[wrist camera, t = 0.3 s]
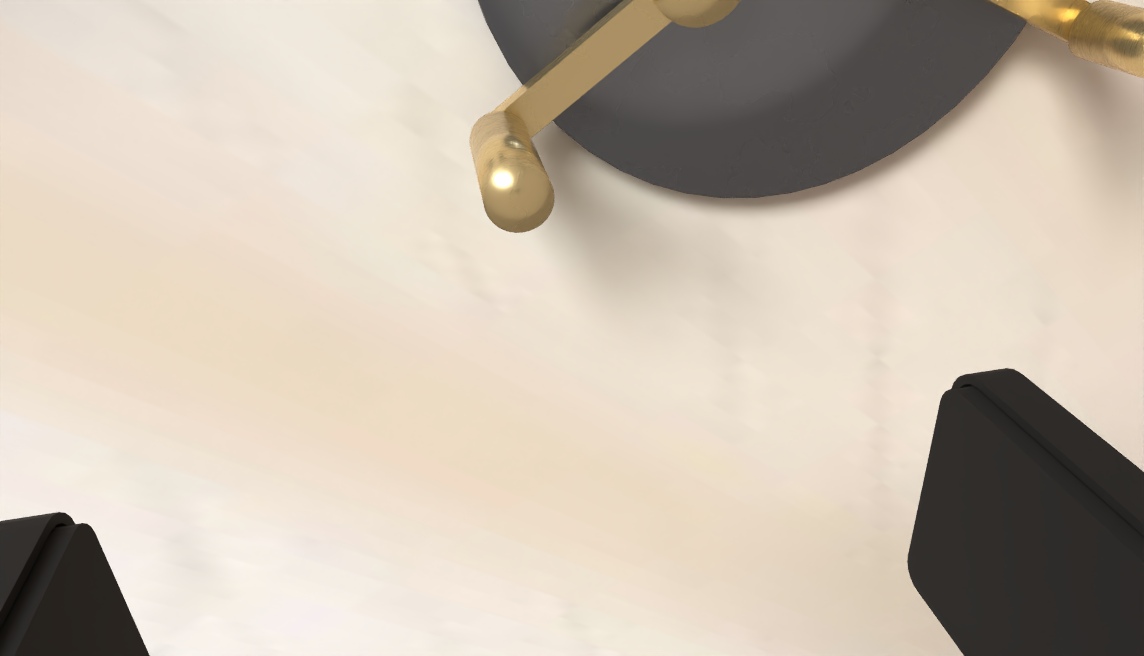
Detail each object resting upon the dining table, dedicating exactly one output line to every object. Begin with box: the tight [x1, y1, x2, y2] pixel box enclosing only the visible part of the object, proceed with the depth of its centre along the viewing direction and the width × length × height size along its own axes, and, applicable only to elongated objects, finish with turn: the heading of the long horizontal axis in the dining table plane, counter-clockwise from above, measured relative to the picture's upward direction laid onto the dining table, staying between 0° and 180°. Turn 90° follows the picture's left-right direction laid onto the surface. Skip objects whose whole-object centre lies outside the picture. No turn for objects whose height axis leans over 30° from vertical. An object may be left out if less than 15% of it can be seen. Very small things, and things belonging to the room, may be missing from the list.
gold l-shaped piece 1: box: [470, 0, 740, 233], centre depth 30 cm, size 13×4×8 cm, turn 128°
